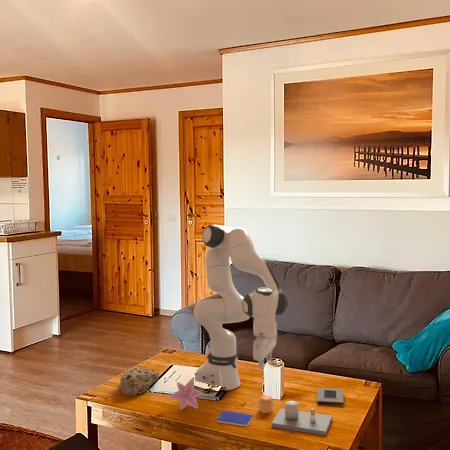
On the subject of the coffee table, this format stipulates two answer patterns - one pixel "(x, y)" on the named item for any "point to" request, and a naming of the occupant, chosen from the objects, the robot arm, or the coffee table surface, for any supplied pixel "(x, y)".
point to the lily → (186, 394)
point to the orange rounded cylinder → (265, 404)
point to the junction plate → (301, 420)
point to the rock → (137, 380)
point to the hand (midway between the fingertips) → (265, 364)
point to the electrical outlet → (330, 395)
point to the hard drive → (234, 418)
